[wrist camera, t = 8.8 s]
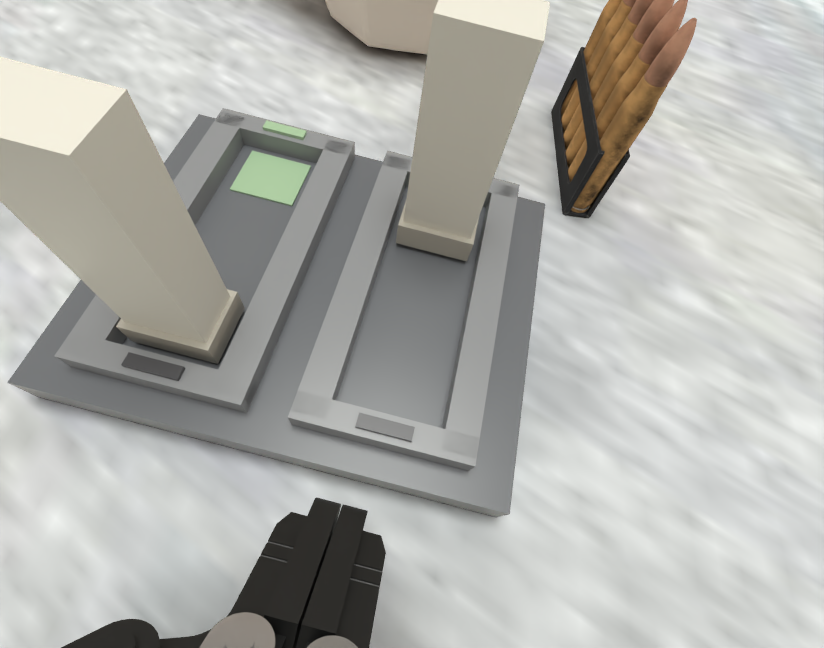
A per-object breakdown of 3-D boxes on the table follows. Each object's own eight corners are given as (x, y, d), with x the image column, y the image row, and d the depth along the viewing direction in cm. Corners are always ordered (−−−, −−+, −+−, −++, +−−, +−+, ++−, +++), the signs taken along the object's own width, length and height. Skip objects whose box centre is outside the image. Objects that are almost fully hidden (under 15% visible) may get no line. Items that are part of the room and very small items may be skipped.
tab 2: (475, 220, 25) (556, -1, 15) (466, 261, 24) (549, 48, 14) (408, 202, 25) (443, -30, 15) (395, 243, 24) (425, 16, 14)
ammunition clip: (551, 110, 34) (638, -86, 24) (573, 113, 34) (670, -80, 24) (562, 215, 29) (679, 27, 19) (589, 218, 30) (720, 34, 19)
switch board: (533, 225, 29) (554, 187, 26) (496, 517, 20) (520, 511, 17) (208, 141, 29) (191, 93, 26) (37, 396, 20) (-18, 370, 17)
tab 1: (244, 308, 21) (141, 84, 11) (218, 364, 20) (70, 167, 9) (164, 287, 21) (-15, 43, 11) (131, 341, 20) (-108, 121, 10)
